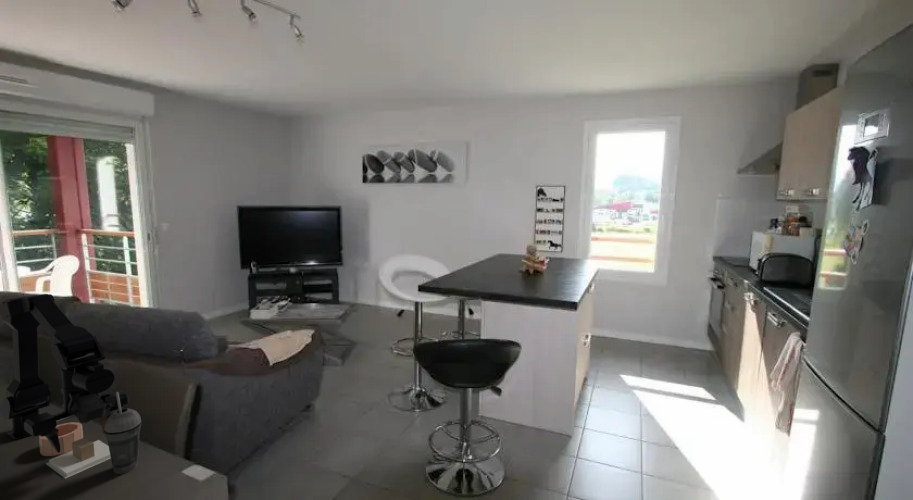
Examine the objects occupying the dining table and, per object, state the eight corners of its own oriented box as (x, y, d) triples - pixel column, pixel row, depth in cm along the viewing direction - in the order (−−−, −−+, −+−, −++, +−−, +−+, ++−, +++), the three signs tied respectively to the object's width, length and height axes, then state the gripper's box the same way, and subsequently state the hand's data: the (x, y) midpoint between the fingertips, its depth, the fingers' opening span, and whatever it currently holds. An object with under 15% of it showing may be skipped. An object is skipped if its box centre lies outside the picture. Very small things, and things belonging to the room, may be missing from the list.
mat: (45, 465, 101) (45, 463, 101) (100, 442, 111) (100, 441, 111) (65, 480, 96) (65, 478, 96) (120, 455, 106) (120, 453, 106)
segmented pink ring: (35, 451, 106) (34, 433, 106) (75, 436, 113) (73, 419, 113) (48, 461, 102) (47, 442, 102) (88, 445, 110) (87, 427, 109)
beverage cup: (123, 481, 96) (118, 402, 94) (98, 476, 98) (92, 398, 95) (151, 462, 103) (147, 388, 101) (128, 458, 105) (123, 384, 102)
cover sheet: (49, 463, 101) (47, 446, 101) (98, 442, 110) (97, 427, 109) (67, 476, 96) (65, 459, 96) (117, 454, 105) (116, 438, 105)
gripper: (40, 408, 89) (46, 474, 91) (138, 377, 106) (141, 433, 107) (20, 396, 94) (26, 458, 96) (116, 368, 111) (120, 422, 112)
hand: (82, 442), depth 103 cm, fingers open, 9 cm apart
